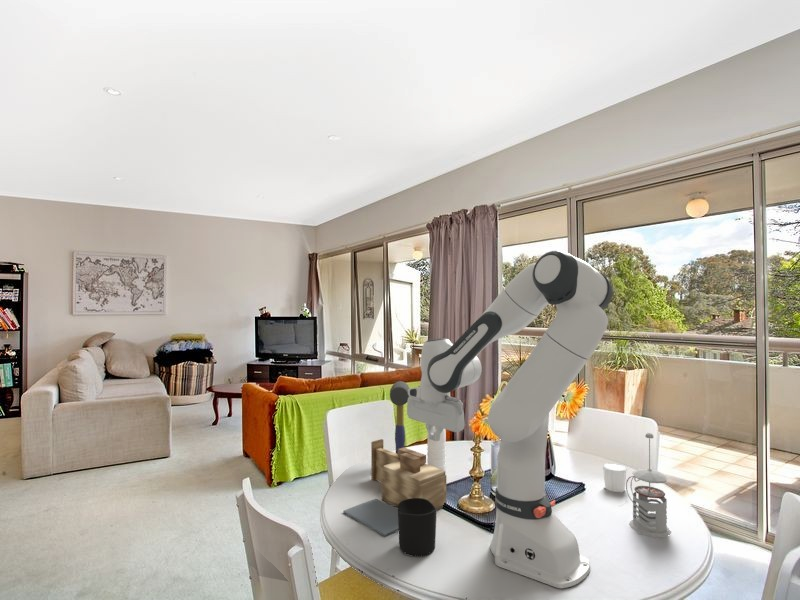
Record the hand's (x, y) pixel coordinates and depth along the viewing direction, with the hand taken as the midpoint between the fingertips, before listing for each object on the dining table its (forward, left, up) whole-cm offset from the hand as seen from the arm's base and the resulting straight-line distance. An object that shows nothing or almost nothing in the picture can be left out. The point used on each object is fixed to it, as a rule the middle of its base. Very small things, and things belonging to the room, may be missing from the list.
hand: (434, 439), depth 134 cm
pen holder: (-13, +20, -19) cm, 31 cm away
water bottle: (+19, -20, -19) cm, 33 cm away
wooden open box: (+5, +4, -19) cm, 20 cm away
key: (+10, 0, -8) cm, 13 cm away
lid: (+5, +4, -10) cm, 12 cm away
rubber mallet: (+31, -15, -19) cm, 39 cm away
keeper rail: (+21, 0, -19) cm, 28 cm away
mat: (+5, +17, -19) cm, 26 cm away
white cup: (-31, -51, -19) cm, 62 cm away
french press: (-47, -32, -19) cm, 60 cm away
